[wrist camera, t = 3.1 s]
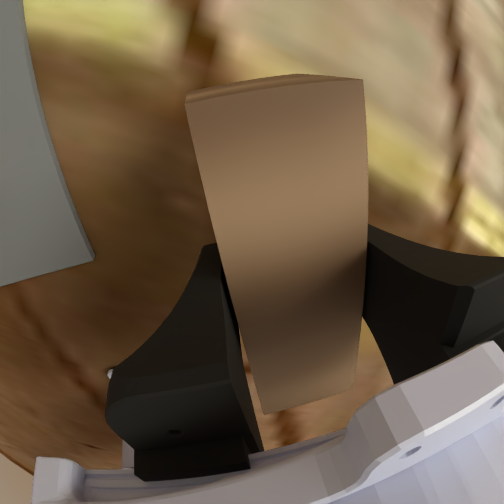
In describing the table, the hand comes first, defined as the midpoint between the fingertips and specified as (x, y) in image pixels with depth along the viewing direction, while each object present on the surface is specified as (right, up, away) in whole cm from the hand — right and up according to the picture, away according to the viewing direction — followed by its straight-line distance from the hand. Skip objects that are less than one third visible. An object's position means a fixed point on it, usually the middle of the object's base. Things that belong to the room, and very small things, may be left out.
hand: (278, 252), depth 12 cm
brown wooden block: (0, +1, +2) cm, 2 cm away
